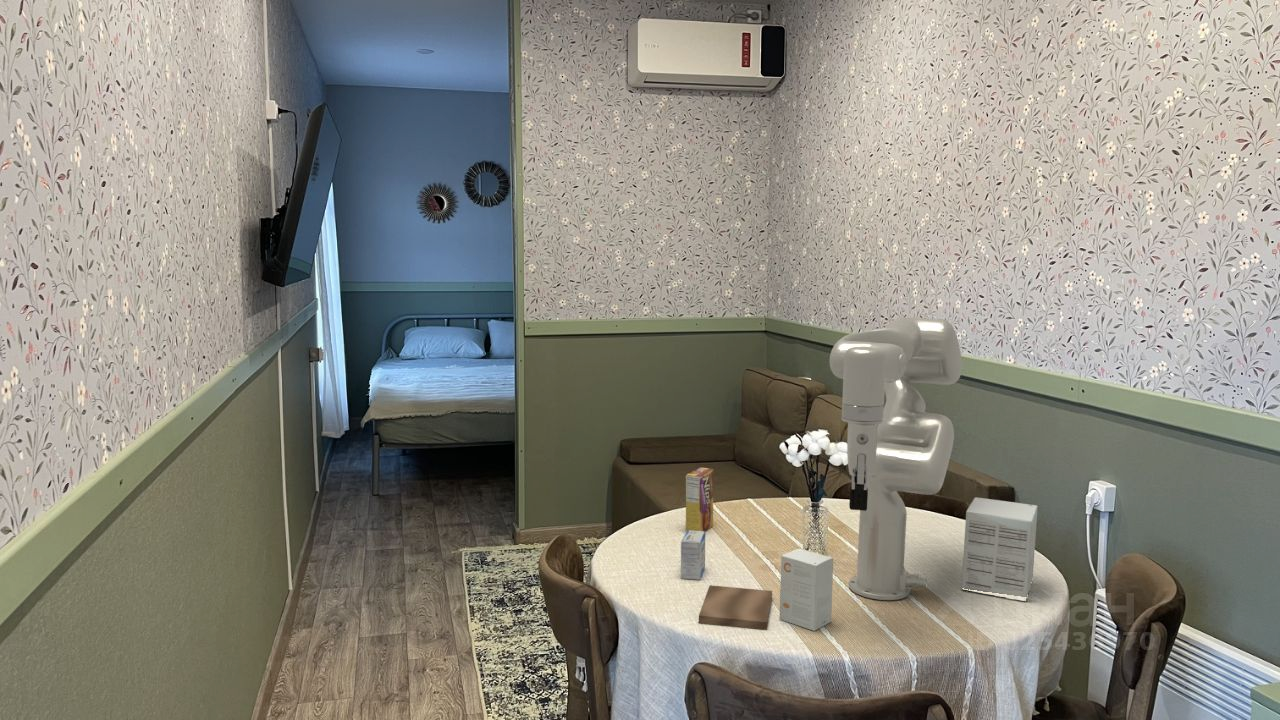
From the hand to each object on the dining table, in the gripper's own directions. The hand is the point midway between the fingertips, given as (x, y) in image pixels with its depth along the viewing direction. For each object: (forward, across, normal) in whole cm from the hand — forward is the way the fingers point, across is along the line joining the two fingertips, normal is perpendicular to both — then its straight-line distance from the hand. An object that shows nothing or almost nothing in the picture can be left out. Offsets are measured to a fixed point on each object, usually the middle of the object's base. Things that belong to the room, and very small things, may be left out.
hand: (858, 508), depth 170 cm
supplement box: (+23, +28, -31) cm, 48 cm away
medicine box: (+23, +20, +34) cm, 46 cm away
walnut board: (+23, +2, +22) cm, 32 cm away
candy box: (+23, +51, +37) cm, 67 cm away
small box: (+23, 0, +9) cm, 25 cm away
